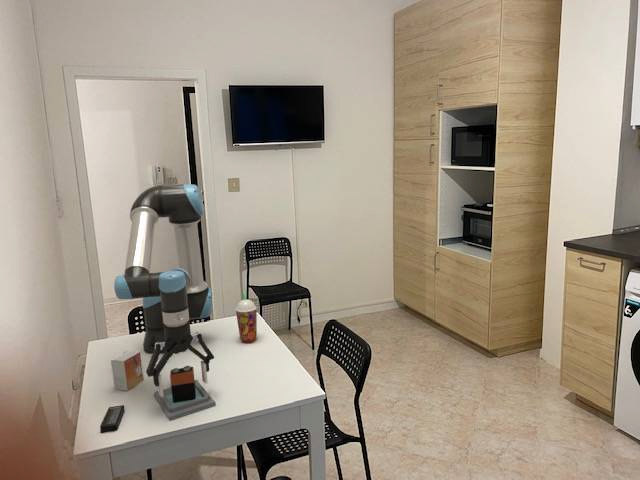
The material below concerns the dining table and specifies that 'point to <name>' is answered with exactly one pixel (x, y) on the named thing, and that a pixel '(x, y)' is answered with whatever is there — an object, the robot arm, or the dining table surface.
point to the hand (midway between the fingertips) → (183, 388)
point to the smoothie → (247, 320)
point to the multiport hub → (112, 419)
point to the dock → (184, 402)
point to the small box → (127, 370)
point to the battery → (183, 384)
